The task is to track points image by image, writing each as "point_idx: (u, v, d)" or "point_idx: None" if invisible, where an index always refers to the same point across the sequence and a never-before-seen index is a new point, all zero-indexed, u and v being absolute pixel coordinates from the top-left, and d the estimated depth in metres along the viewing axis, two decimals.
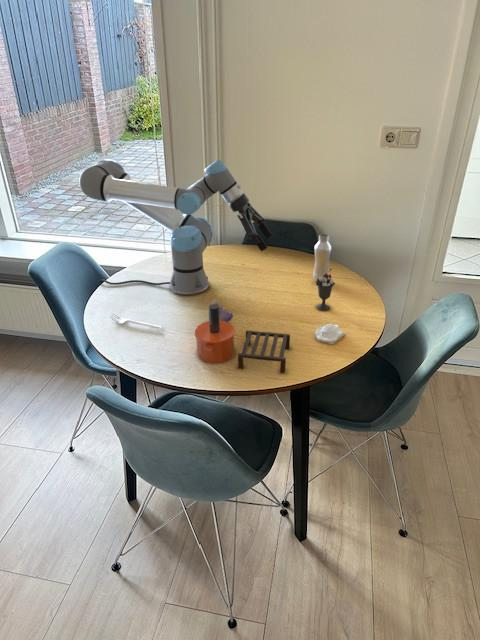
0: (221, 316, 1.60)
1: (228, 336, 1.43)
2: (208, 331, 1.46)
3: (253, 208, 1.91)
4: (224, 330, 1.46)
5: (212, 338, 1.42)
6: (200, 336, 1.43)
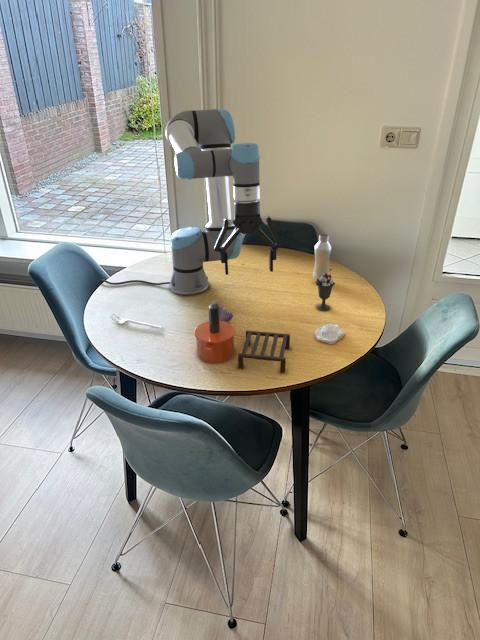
0: (221, 316, 1.60)
1: (228, 336, 1.43)
2: (208, 331, 1.46)
3: (272, 228, 1.40)
4: (224, 330, 1.46)
5: (212, 338, 1.42)
6: (200, 336, 1.43)
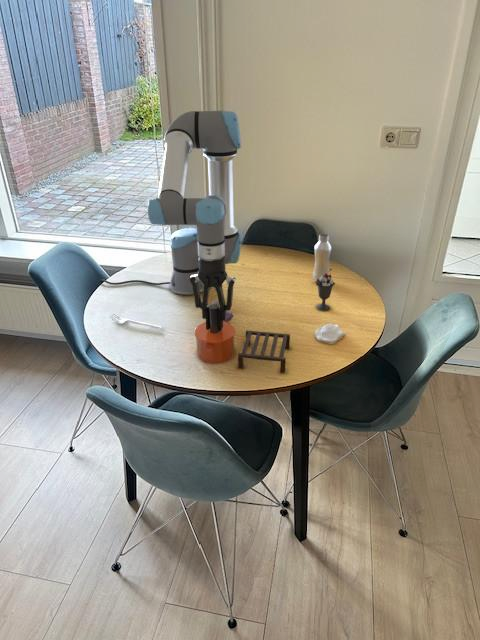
0: None
1: (228, 336, 1.43)
2: (208, 331, 1.46)
3: (230, 291, 1.37)
4: (224, 330, 1.46)
5: (212, 338, 1.42)
6: (200, 336, 1.43)
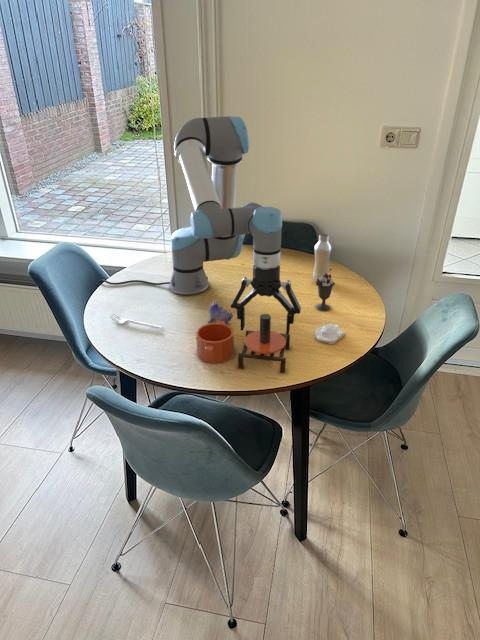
0: (221, 316, 1.60)
1: (280, 347, 1.41)
2: (258, 341, 1.44)
3: (290, 294, 1.34)
4: (274, 340, 1.45)
5: (264, 349, 1.41)
6: (251, 346, 1.42)
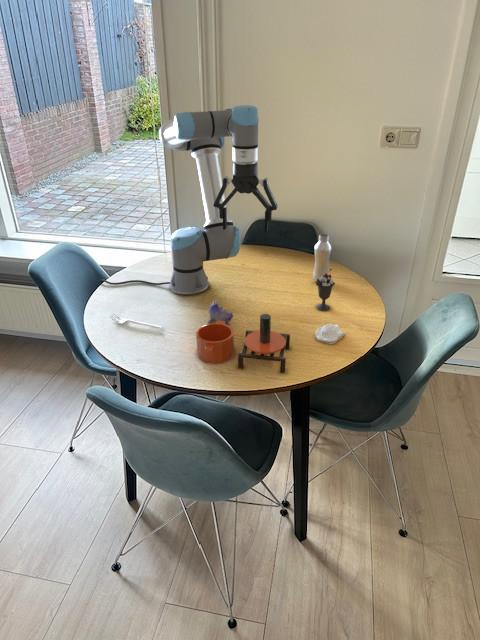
0: (221, 316, 1.60)
1: (280, 347, 1.41)
2: (258, 341, 1.44)
3: (267, 190, 1.46)
4: (274, 340, 1.45)
5: (264, 349, 1.41)
6: (251, 346, 1.42)
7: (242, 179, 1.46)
